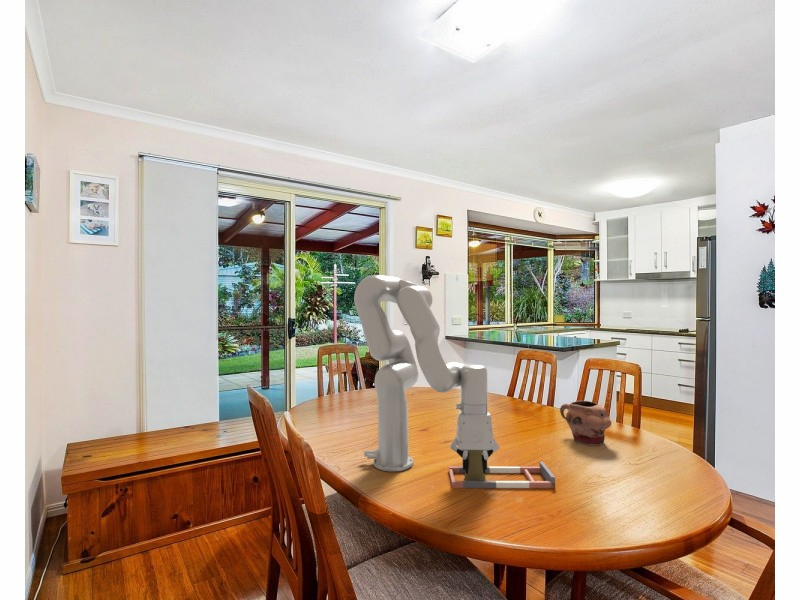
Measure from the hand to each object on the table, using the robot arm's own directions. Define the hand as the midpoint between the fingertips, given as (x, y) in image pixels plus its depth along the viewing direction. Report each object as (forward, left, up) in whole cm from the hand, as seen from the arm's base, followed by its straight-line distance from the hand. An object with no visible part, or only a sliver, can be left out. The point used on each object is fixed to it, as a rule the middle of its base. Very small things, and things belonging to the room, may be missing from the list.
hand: (474, 471), depth 122 cm
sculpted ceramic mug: (+44, +33, -3) cm, 55 cm away
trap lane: (+7, 0, -2) cm, 7 cm away
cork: (0, 0, -3) cm, 3 cm away
